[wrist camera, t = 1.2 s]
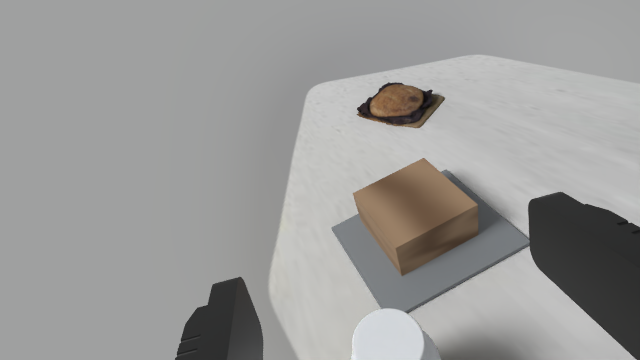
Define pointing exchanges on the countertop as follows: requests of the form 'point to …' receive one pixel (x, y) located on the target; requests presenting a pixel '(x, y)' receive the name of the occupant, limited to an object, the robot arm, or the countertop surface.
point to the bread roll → (400, 105)
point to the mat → (437, 274)
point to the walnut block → (416, 215)
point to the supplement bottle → (391, 338)
